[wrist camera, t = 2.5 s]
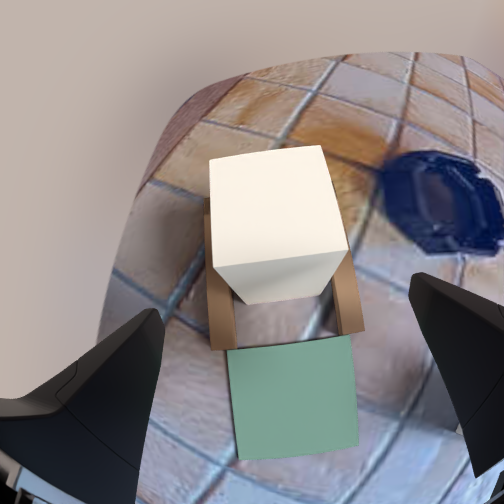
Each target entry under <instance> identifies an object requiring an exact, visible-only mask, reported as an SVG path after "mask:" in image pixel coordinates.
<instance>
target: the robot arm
mask: <svg viewBox="0 0 504 504" xmlns="http://www.w3.org/2000/svg"><path fill="white" fill-rule="evenodd" d="M408 296H409V301H410V303H411V306H412V308H413V311H414V313H415V316H416V318H417V321H418V324H419V326H420V329H421V331H422V334H423V336H424V338H425V340H426V342H427V344H428V347H429V349H430V351H431V353H432V355H433V357H434V360H435V362H436V364H437V366H438V369H439V371H440V373H441V375H442V378H443V380H444V383H445V385H446V388H447V390H448V393H449V395H450V398H451V400H452V403H453V406H454V408H455V411H456V414H457V417H458V420H459V423H460V426H461V429H462V432H463V435H464V439H465V442H466V445H467V449H468V452H469V456H470V460H471V464H472V468H473V472H474V476H475V478H478V477H479V476H481V475H482V474H484V473H485V472H487V471H488V470H490V469H491V468H493V467H494V466H496V465H497V464H498V463H500V462H501V461H503V460H504V306H501V305H499V304H498V305H497V303H495V302H492V301H490V300H488V299H486V298H483V297H481V296H479V295H476V294H474V293H472V292H469V291H467V290H465V289H462V288H460V287H458V286H455V285H453V284H450V283H448V282H446V281H443V280H441V279H438V278H436V277H433V276H431V275H428V274H426V273H423V272H420V273H415V274H413V275H412V277H411V282H410V288H409V294H408ZM164 337H165V327H164V324H163V322H162V319H161V317H160V314H159V312H158V310H157V309H155V308H150V309H145V310H143V311H142V312H140V313H139V314H138V315H136V316H135V317H134V318H132V319H131V320H130V321H128V322H127V323H126V324H124V325H123V326H121V327H120V328H119V329H117V330H116V331H115V332H113V333H112V334H111V335H109V336H108V337H107V338H105V339H104V340H103V341H101V342H100V343H99V344H97V345H96V346H95V347H93V348H92V349H91V350H89V351H88V352H87V353H85V354H84V355H83V356H82V357H80V358H79V359H78V361H75V362H74V363H72V364H71V365H70V366H68V367H67V368H66V369H64V370H63V371H62V372H60V373H59V374H57V375H56V376H54V377H53V378H51V379H50V380H48V381H47V382H45V383H44V384H42V385H41V386H39V387H38V388H36V389H35V390H33V391H32V392H30V393H29V394H27V395H25V396H23V397H21V398H17V399H3V398H0V504H135V499H136V492H137V485H138V478H139V470H140V465H141V459H142V453H143V447H144V442H145V437H146V431H147V426H148V421H149V416H150V412H151V407H152V402H153V398H154V393H155V389H156V385H157V380H158V376H159V372H160V367H161V360H162V352H163V344H164ZM484 504H504V470H503V471H502V472H501V473H500V475H499V478H498V480H497V483H496V485H495V488H494V490H493V493H492V495H491V497H490V500H488V501H487V502H485V503H484Z"/></svg>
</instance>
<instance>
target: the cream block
mask: <svg viewBox="0 0 504 504" xmlns="http://www.w3.org/2000/svg"><path fill="white" fill-rule="evenodd" d="M210 206H211V233H212V255H213V268H214V269H215V270H216V271H217V272H218V273H219V275H220V276H221V277H222V278H223V279H224V280H225V281H226V282H227V283H228V285H229V286H230V287H231V288H232V289H233V290H234V291H235V292H236V293H237V295H238V296H239V297H240V298H241V299H242V300H243V301H244V302H245V303H246V304H247V305H249V304H258V303H266V302H274V301H282V300H290V299H297V298H304V297H311V296H318V295H320V294H321V293H322V291H323V290H324V288H325V287H326V285H327V283H328V282H329V280H330V279H331V277H332V276H333V274H334V272H335V271H336V269H337V268H338V266H339V265H340V263H341V261H342V260H343V258H344V256H345V255H346V253H347V252H348V250H349V249H348V244H347V240H346V235H345V231H344V227H343V223H342V219H341V215H340V211H339V207H338V203H337V200H336V196H335V192H334V189H333V185H332V182H331V178H330V175H329V172H328V168H327V165H326V162H325V159H324V155H323V152H322V149H321V146H320V145H317V146H306V147H296V148H286V149H278V150H270V151H262V152H255V153H248V154H242V155H236V156H230V157H224V158H218V159H213V160H210Z"/></svg>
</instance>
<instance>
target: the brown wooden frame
mask: <svg viewBox="0 0 504 504" xmlns="http://www.w3.org/2000/svg"><path fill="white" fill-rule="evenodd" d="M331 182H332V185H333V189H334V192H335V196H336V200H337V203H338V207H339V211H340V215H341V219H342V223H343V227H344V231H345V235H346V240H347V244H348V249H349V250H348V252H347V253H346V255H345V256H344V258H343V260H342V261H341V263H340V265H339V266H338V268H337V269H336V271H335V272H334V274H333V276H332V277H331V279H330V280H331V286H332V292H333V298H334V304H335V311H336V318H337V325H338V332H339V336H340V335H346V334H351V333H356V332H361V331H365V328H364V321H363V315H362V308H361V302H360V297H359V291H358V285H357V280H356V275H355V270H354V265H353V260H352V256H351V251H350V246H349V242H348V238H347V233H346V229H345V225H344V221H343V217H342V213H341V209H340V206H339V202H338V198H337V195H336V191H335V188H334V184H333V181H331ZM204 237H205V263H206V284H207V301H208V317H209V330H210V343H211V350H228V349H237V339H236V328H235V316H234V305H233V292H232V288H231V287H230V286H229V285H228V283H227V282H226V281H225V280H224V279H223V278H222V277H221V276H220V275H219V273H218V272H217V271H216V270H215V269H214V268H213V255H212V233H211V206H210V197H209V198H204Z"/></svg>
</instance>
